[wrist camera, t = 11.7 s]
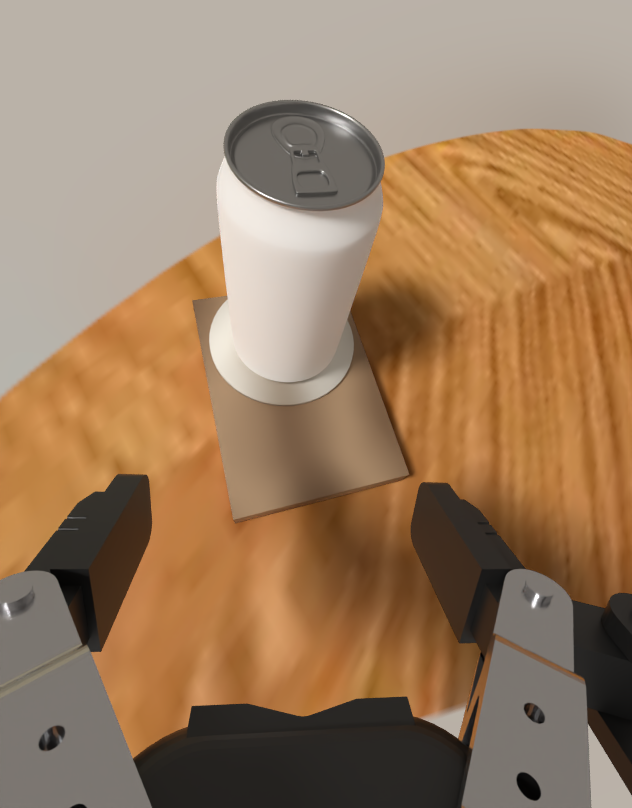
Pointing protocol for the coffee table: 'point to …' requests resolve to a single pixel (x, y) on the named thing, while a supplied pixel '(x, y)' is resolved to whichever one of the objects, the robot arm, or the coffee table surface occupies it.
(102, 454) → the coffee table surface
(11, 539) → the coffee table surface
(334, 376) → the board
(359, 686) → the coffee table surface
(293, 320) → the can
